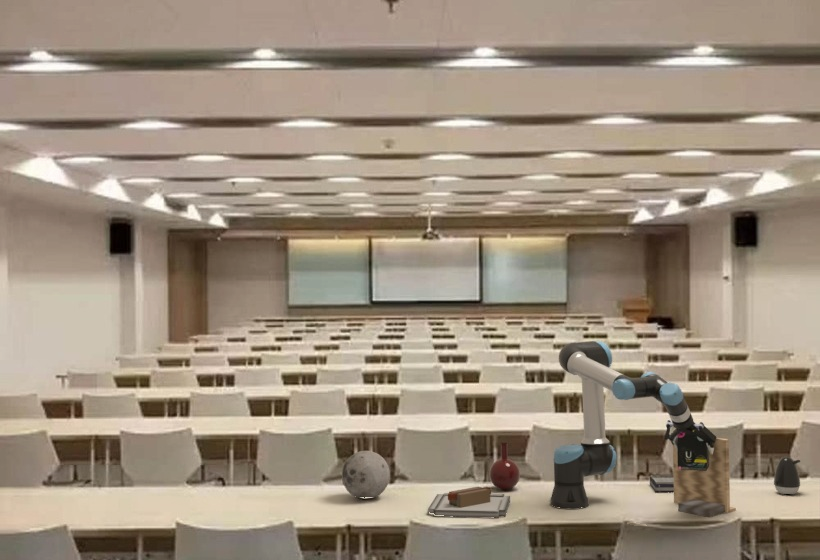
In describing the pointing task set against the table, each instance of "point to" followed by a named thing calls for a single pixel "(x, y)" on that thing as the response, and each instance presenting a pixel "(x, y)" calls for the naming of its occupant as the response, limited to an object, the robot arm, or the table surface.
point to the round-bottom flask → (504, 471)
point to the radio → (662, 483)
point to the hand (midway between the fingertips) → (695, 450)
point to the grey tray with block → (470, 503)
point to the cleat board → (704, 484)
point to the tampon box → (692, 452)
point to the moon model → (365, 474)
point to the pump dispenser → (787, 476)
